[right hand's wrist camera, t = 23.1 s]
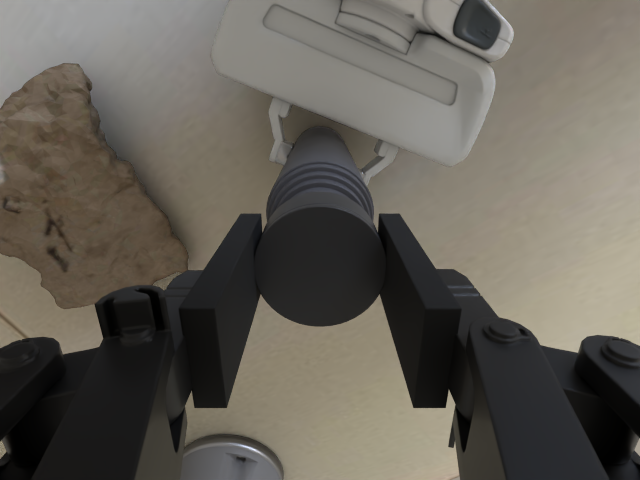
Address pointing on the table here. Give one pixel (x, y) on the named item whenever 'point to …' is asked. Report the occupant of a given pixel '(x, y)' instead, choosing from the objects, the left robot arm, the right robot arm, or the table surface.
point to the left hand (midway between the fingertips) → (316, 177)
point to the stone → (76, 196)
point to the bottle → (319, 171)
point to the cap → (320, 260)
